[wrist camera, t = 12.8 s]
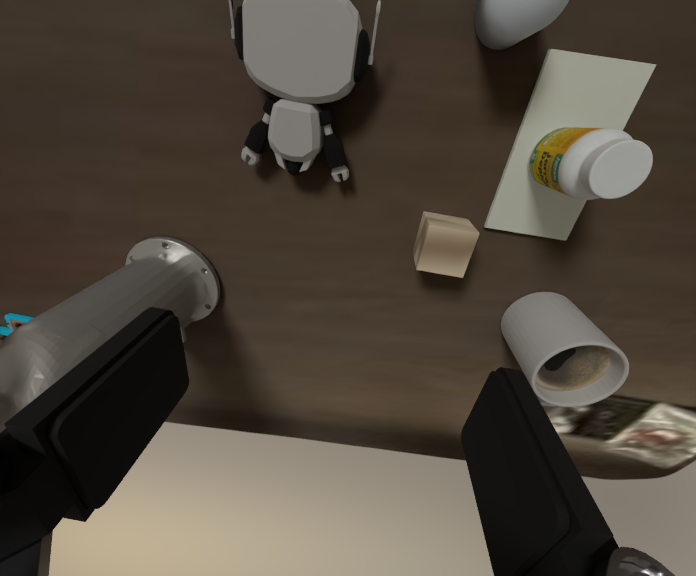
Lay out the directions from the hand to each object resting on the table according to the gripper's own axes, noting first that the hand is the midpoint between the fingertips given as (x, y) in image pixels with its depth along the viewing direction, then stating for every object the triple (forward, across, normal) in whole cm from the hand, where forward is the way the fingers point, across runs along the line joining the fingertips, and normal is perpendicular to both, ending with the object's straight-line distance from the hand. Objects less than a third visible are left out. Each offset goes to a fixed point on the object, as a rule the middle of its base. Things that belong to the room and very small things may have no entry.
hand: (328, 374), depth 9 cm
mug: (+28, -24, +14) cm, 40 cm away
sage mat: (+28, -18, -6) cm, 34 cm away
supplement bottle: (+28, -18, -6) cm, 34 cm away
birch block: (+28, -9, +4) cm, 30 cm away
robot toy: (+29, +8, -8) cm, 31 cm away
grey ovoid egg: (+28, -9, -16) cm, 34 cm away
